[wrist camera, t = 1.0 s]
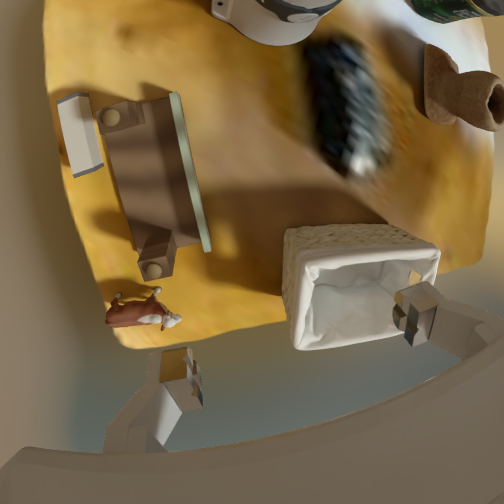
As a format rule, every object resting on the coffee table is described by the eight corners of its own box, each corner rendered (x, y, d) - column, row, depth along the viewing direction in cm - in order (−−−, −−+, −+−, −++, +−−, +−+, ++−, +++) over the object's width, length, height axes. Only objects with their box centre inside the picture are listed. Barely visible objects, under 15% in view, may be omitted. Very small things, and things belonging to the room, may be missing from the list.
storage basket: (272, 301, 56) (292, 356, 43) (275, 219, 49) (302, 259, 36) (382, 288, 59) (419, 331, 46) (396, 215, 52) (446, 247, 39)
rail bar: (69, 101, 35) (56, 101, 31) (88, 93, 35) (77, 92, 31) (84, 172, 40) (73, 178, 36) (103, 166, 41) (94, 171, 37)
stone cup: (457, 130, 46) (512, 143, 33) (416, 118, 44) (475, 128, 31) (459, 62, 40) (514, 62, 26) (417, 43, 38) (475, 35, 24)
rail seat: (103, 116, 37) (74, 118, 28) (179, 94, 38) (171, 87, 28) (140, 253, 48) (126, 288, 38) (210, 237, 48) (212, 270, 39)
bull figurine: (183, 304, 53) (181, 333, 46) (114, 308, 51) (104, 336, 44) (180, 283, 51) (177, 311, 44) (108, 288, 50) (97, 316, 42)
